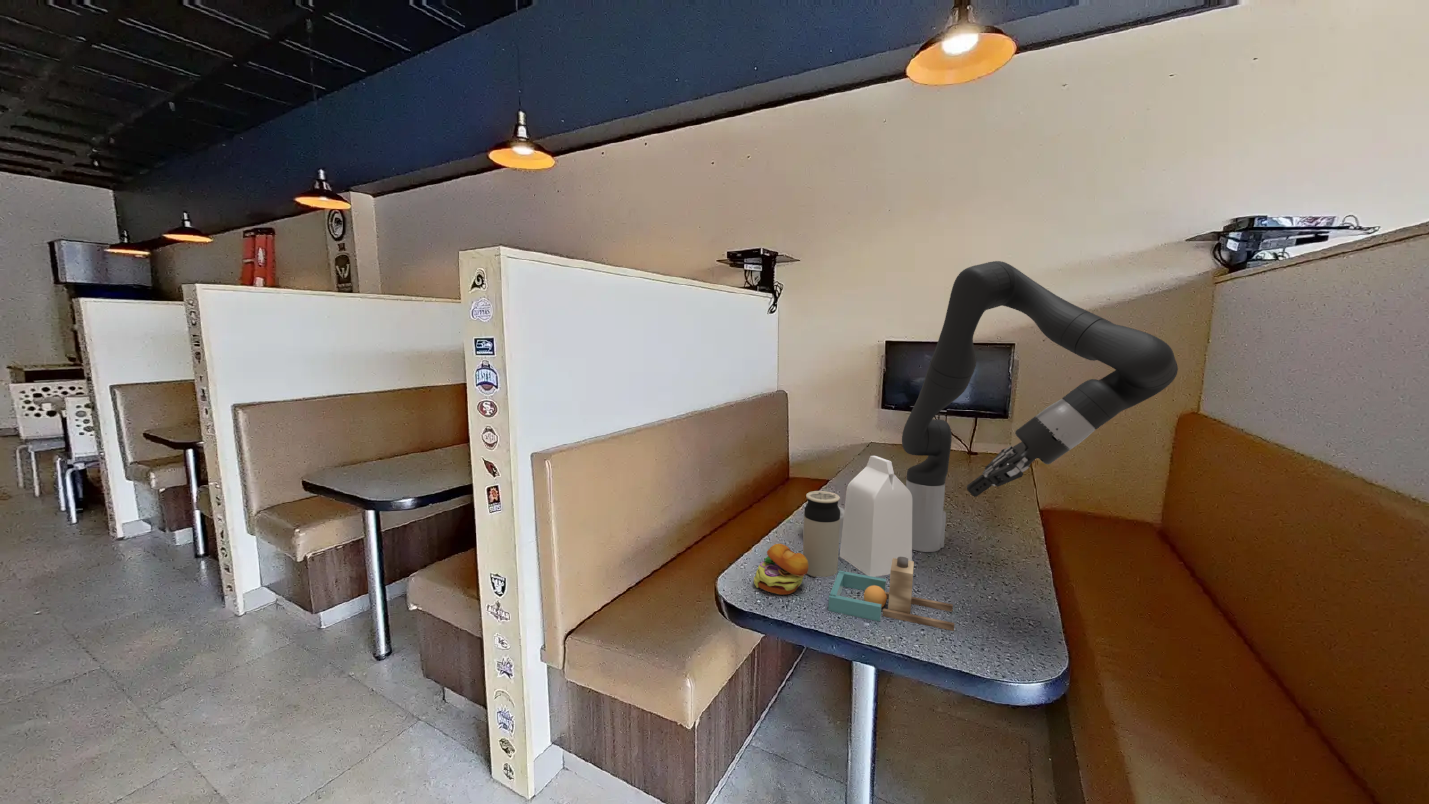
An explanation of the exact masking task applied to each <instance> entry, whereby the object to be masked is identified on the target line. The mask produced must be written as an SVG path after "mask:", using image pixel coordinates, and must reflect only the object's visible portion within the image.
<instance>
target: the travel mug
mask: <svg viewBox="0 0 1429 804" xmlns="http://www.w3.org/2000/svg"><path fill="white" fill-rule="evenodd" d="M805 496H806V500H807V503H806V505H805V507H804V510H803V520H804V537H803V536H802V538H803V540H802V541H803V542H802V545H803V546H802V554H803V555H804V556H805V557H806V559H807V561H808V571H807V574H806V575H809V576H810V577H813V578H817V577H820V578H827V577H833V576H835V574H838V572H839V570H838V567H839V551H840V547H839V546H840V544H839V530H840V509H839V507H838V506H839V501H840V500H841V497H840V496H839V494H837V493H835V492H830V491H826V490H825V491H824V490H823V491H822V490H814V491H809V492H808V493H806V495H805Z"/></svg>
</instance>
